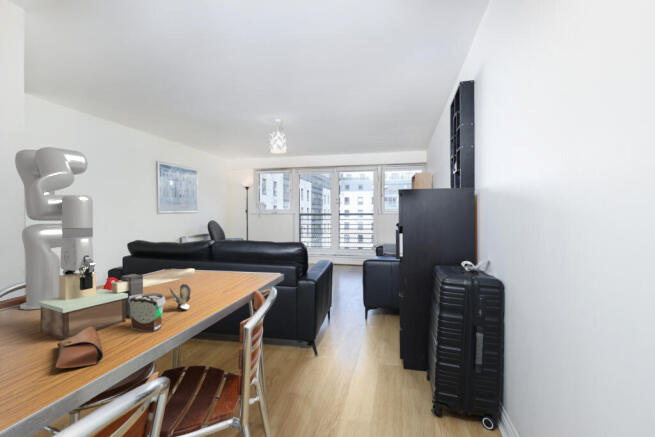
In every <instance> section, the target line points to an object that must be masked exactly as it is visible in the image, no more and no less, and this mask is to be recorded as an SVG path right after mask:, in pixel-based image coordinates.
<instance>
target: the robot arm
mask: <svg viewBox="0 0 655 437" xmlns="http://www.w3.org/2000/svg"><path fill="white" fill-rule="evenodd" d="M14 164H15V169H16V170H17V174H18V176H19V178H20V180H21V181H22V183H23V184H22V185H23V187H24V188H23V189H24V201H25V202H24V204H25V212H26V216H27V217H28V219H29V220H32V221H39V222H40V221H43V222H45V221H46V222H47V221H48V222H52V221H55V222H56V221H57V222H59V221H61V223H37V224H31V225H28V226H26V227H24V228H23V229H22V231H21V239H22V244H23V248H24V256H25V302H24V303H21V304H20V305H19V309H21V310H29V311H30V310H41V306H38V301H43V300H48V299H53V298H58V297H59V276H61V269H62V270H63V271H62V274H63V275H68V274H75V273H76V272H77V271H79V272H78V273H80V274H81V277H80V290H86V289H91V288H93V275H94V273H93V272H95V266H96V262H95V261H94V249H93V241H92V239H94V227H93V226H94V221H93V220H94V217H93V216H94V215H93V214H94V210H93V209H94V208H93V207H94V204H93V203H94V202H93V199H92V197H91V196H89V195H84V194H82V195H81V194H56V191H60V190H63V189H66V188H68V187H70V186H72V185H73V184H74V182H75V176H76V175H81V174H83V173H85V172H86V171H87V169H88V159H87V157H86V155H85V154H84V153H82V152H81V151H78V150H72V149H66V148H60V147H51V146H49V147H48V146H47V147H40V148H39V149H21V150H19V151H17V152H16V154H15V158H14ZM55 248H60V257H59V255H57V253H55V252H54V251H53V250H52V249H55Z"/></svg>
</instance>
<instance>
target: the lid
mask: <svg viewBox="0 0 655 437" xmlns="http://www.w3.org/2000/svg"><path fill="white" fill-rule="evenodd" d="M93 273H94V275H93V288H91V289H86V290H80V277H81V274H80V272H75V274H68V275H64V274H63V275H61V274H60V276H59V297H58V298H53V299H48V300H43V301H38V306H41V307H44V308H48V309H51V310H55V311H58V312H61V313H65V312H69V311H74V310H78V309H82V308H86V307H90V306H94V305H98V304H103V303H107V302H111V301H115V300H119V299H123V298H128V294H126V293H121V292H119V293H115V292H112V291H111V290H106V289H103V288H97V273H96V272H95V271H94V272H93Z"/></svg>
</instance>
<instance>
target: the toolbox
mask: <svg viewBox="0 0 655 437" xmlns="http://www.w3.org/2000/svg"><path fill="white" fill-rule="evenodd" d="M143 277H144V275H142V274H136V273H132V274H131V273H130V274H125V275H121V276H120V281H125V280H127V281H129V290H128V291H124V292H121V293H126V294H128V298H123V299H119V300H115V301H111V302H107V303H103V304H98V305H94V306H90V307H86V308H82V309H78V310H74V311H69V312H65V313H61V312H58V311H55V310H51V309H48V308H44V307H41V309H40V333H42V334H46V335H48V336H51V337H53V338H56V339H58V340H61V341H63V340H65V339H68V338H70V337H72V336H75V335H77V334H78V333H80V332H82V331H83V330H85V329H87V328H89V327H94V328H95V330H96V332H98V331H100V330H104V329H107V328H110V327H114V326H117V325H119V324H123V323H126V317H127V316H129V319H130V320H131V315H130V303H128V299H129V296H132V295H138V294H144V287H143Z"/></svg>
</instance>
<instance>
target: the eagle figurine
mask: <svg viewBox="0 0 655 437" xmlns="http://www.w3.org/2000/svg"><path fill="white" fill-rule="evenodd" d="M169 291H170V293H171V294H172V296H173V297H174V298H173V299H172V301H174V302H175V303H177V307H176V308H175V310H174V311H175V312H177V311H180V312H182V310H186V311H187V310H188V309H190V305H189V304H187V303H188V302H189V301H190V300H191V291H192V290H191V287H190V286H189V285H188V284H184V283H183V284H181V286H179V294H178V292H176V291H174V290H172V288H171V287H169Z"/></svg>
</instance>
